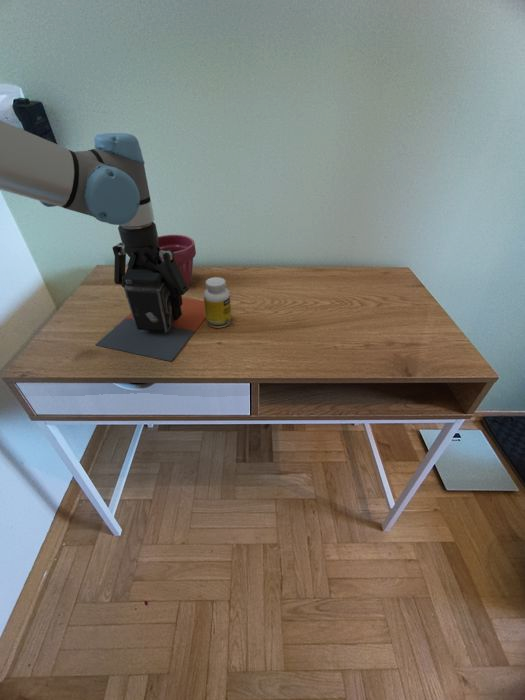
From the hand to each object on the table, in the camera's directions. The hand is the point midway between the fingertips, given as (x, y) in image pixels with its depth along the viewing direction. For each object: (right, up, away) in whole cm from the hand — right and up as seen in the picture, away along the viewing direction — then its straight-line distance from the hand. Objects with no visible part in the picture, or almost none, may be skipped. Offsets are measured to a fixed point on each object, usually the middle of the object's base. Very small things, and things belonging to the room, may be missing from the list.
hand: (157, 313), depth 80 cm
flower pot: (-1, +12, +20) cm, 23 cm away
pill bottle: (+15, -2, +4) cm, 16 cm away
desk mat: (0, -2, +3) cm, 4 cm away
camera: (0, -2, +2) cm, 3 cm away
